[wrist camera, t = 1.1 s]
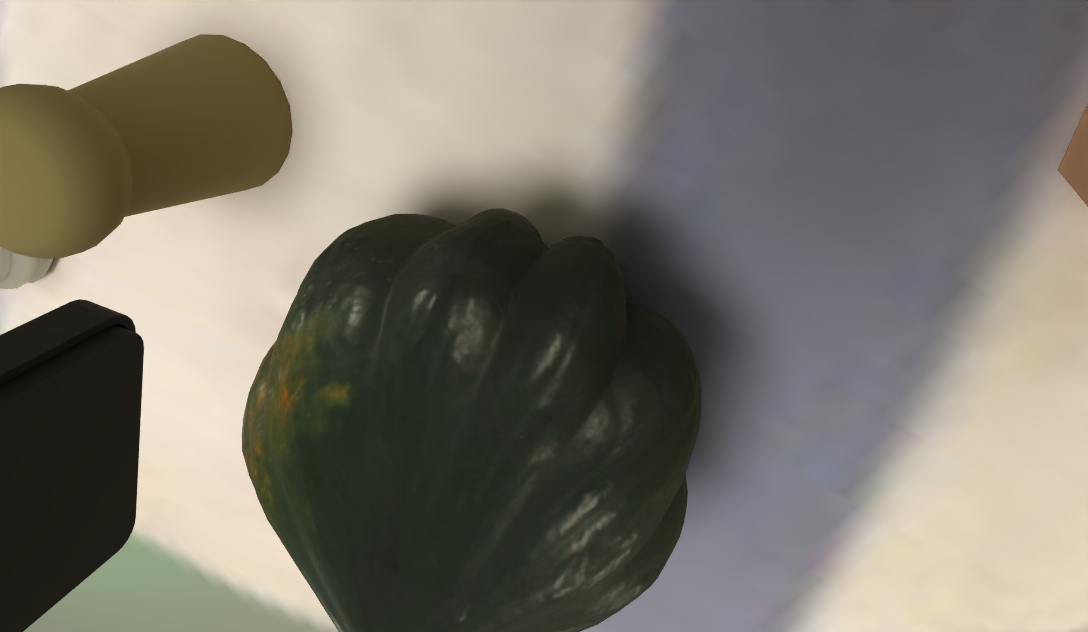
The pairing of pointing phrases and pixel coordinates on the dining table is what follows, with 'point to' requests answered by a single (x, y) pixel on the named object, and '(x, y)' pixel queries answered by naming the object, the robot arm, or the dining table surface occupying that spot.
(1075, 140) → the tan cardboard box
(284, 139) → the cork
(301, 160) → the dining table surface
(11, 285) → the rook chess piece
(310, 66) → the dining table surface
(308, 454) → the squash
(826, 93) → the dining table surface
